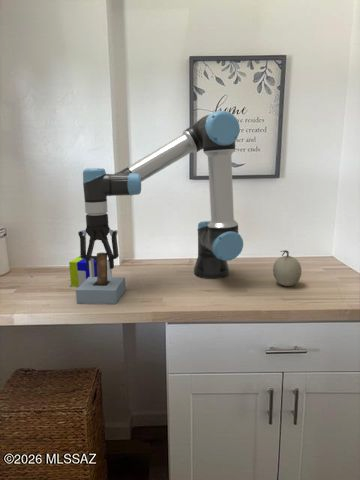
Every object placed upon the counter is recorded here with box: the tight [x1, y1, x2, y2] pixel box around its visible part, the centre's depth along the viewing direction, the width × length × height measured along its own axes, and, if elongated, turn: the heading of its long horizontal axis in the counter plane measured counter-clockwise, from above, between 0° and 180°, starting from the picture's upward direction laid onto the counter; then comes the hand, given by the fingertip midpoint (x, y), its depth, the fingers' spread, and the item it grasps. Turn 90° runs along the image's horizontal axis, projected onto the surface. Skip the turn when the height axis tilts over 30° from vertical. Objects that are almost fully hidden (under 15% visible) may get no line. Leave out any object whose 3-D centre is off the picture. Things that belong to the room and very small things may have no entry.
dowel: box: [96, 252, 108, 286], centre depth 127 cm, size 4×4×16 cm
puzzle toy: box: [68, 255, 97, 287], centre depth 142 cm, size 10×10×10 cm
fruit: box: [272, 249, 302, 287], centre depth 136 cm, size 10×12×15 cm
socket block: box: [75, 276, 126, 305], centre depth 128 cm, size 14×14×5 cm
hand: (101, 277), depth 127 cm, fingers open, 6 cm apart
